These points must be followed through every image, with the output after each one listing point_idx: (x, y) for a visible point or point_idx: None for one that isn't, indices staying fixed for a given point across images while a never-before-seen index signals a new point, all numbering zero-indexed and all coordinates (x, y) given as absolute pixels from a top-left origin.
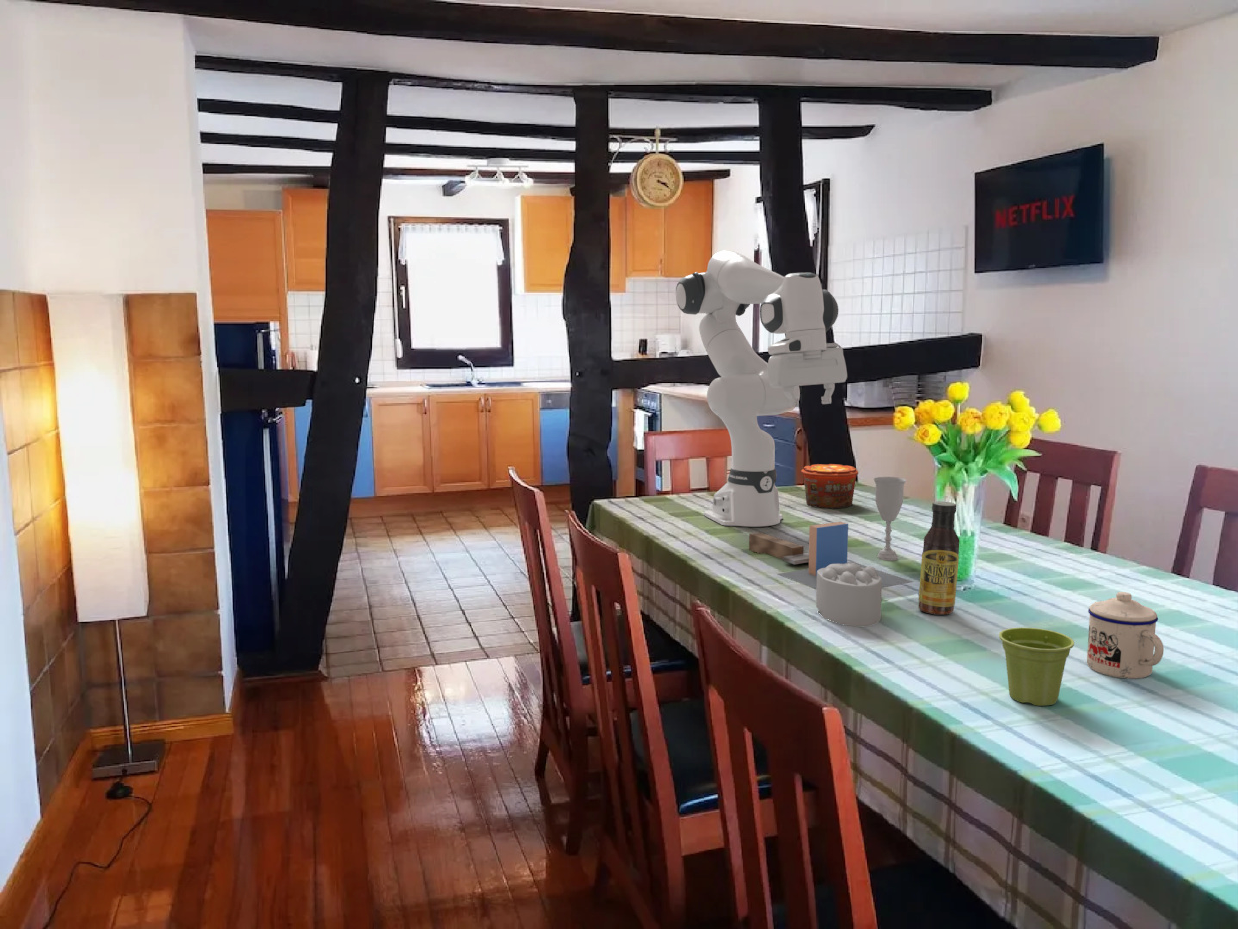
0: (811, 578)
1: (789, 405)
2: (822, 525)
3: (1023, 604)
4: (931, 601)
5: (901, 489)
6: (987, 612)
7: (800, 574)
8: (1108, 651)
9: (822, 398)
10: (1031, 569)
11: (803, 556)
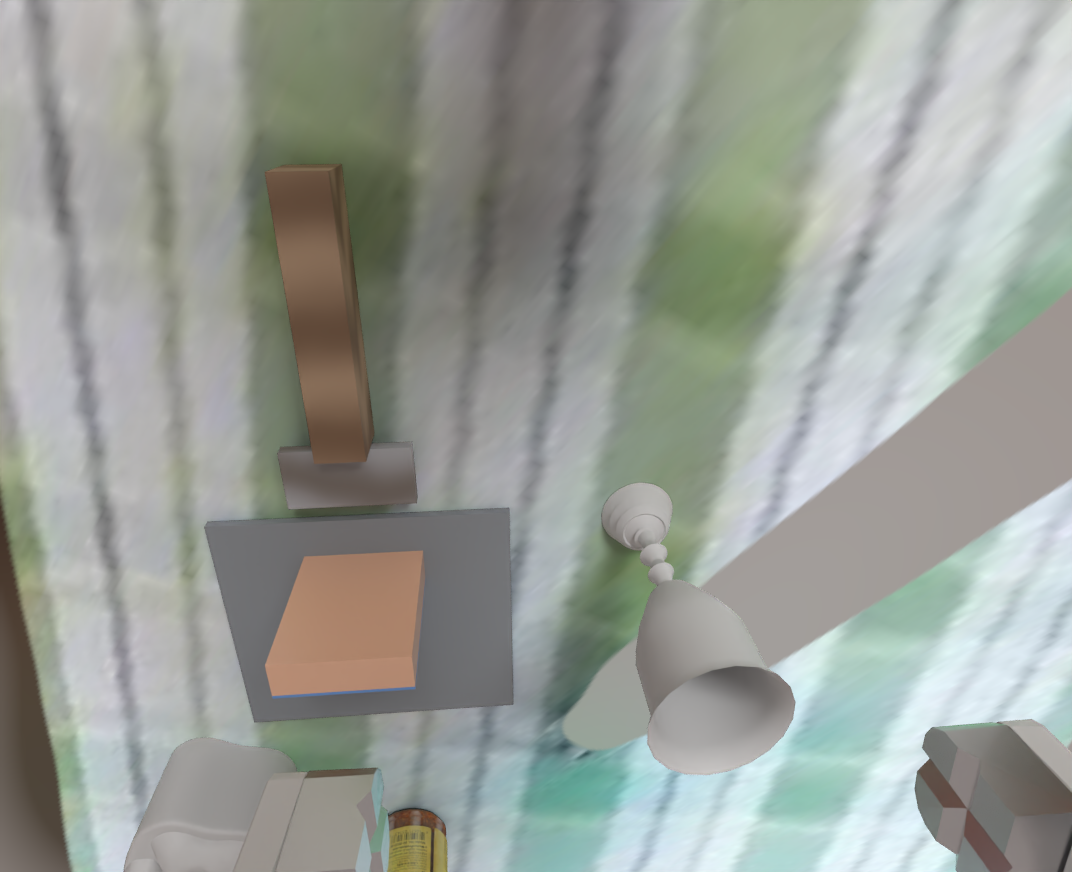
0: (281, 598)
1: (270, 793)
2: (312, 678)
3: (600, 843)
4: None
5: (715, 733)
6: (498, 853)
7: (272, 557)
8: None
9: (982, 812)
10: (860, 702)
11: (347, 479)
